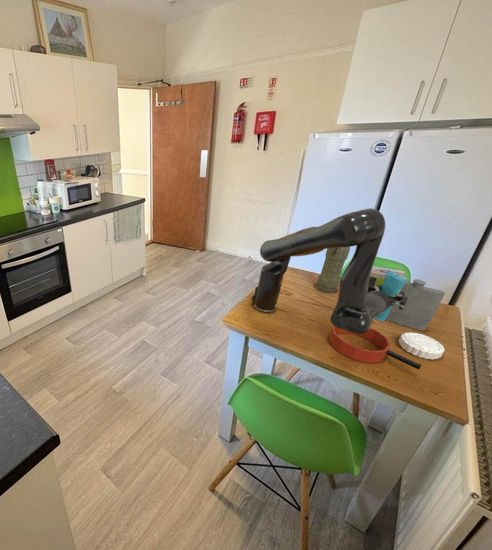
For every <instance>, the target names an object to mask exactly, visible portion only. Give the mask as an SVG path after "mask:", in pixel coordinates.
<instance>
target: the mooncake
mask: <svg viewBox="0 0 492 550" xmlns="http://www.w3.org/2000/svg"><path fill="white" fill-rule="evenodd" d="M398 345H399V346H400V347H401V349H403V350H405V352H406V353H410V355H412V356H416V357H418V358H421V359H425V360H438V359H441V358H442V356H443V354H444V352H445V347H444V346H443V344H441V342H439V341H437V340H436V339H435V338H432V337H430V336H428V335H425V334H423V333H418V332H413V331H412V332H411V331H408V332H404V333H402V334H401V335H400V337H399V338H398Z"/></svg>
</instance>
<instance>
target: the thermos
mask: <svg viewBox="0 0 492 550" xmlns="http://www.w3.org/2000/svg"><path fill="white" fill-rule="evenodd" d="M350 251H351V247H337V248H327V249H326V251H325V256H324V257H325V259H324V262H323V266H322V267H321V272H320V273H319V274H318V277H317V280H316V285H315V288H316V289H317V290H319V291H321V292H323V293H328V294H330V293H331V294H332V293H335V292H336V291H337V288H339V284H340V279H341V277H340V276H341V273H342V270H343V268H344V265H345V262H346V261H347V259H348V257H349V254H350Z"/></svg>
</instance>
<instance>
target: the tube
mask: <svg viewBox="0 0 492 550" xmlns="http://www.w3.org/2000/svg"><path fill="white" fill-rule="evenodd" d="M407 279H408V277H407V278H405V277H403V276H401V275H399V274H397V273H395V272H393V271H391V270H389V269H388V271H387V274H386V276H385V279H384V282H383V284H382V287H381V289H380V291H381V292H383V293H385V294H399V292H400V291H401V289H402V287H403V285H404V284H405V282H406V280H407ZM407 281H408V280H407ZM391 308H392V306H390V307H389V308H388V309H386V310H385V311H384V312H383V313H381V314H380V315H378V316H376V317H375V318H374V319H373V320H376V321H379V322H384V321H387V320H386V318H387V316H388V314H389V312H390V310H391Z"/></svg>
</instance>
